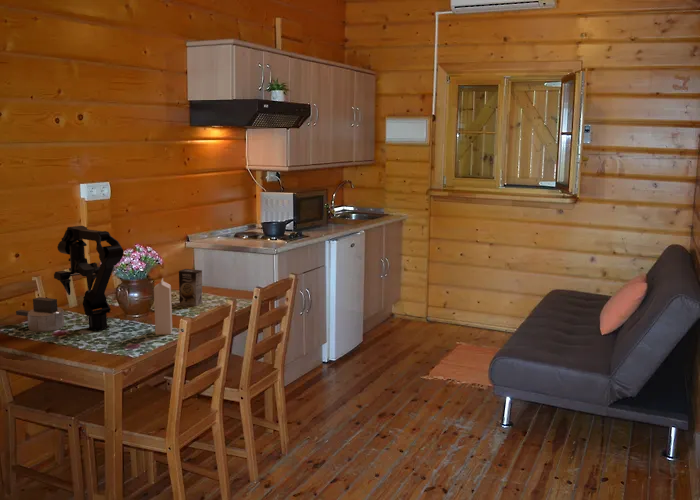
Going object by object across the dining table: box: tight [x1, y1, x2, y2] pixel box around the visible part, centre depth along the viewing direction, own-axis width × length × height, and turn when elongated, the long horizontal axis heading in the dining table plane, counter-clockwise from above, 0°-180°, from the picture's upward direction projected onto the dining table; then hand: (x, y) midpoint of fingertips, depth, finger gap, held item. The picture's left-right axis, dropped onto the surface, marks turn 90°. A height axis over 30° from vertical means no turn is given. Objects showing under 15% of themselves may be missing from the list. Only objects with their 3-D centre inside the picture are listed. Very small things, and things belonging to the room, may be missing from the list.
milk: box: [153, 277, 173, 336], centre depth 270 cm, size 6×6×22 cm
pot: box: [15, 309, 65, 333], centre depth 278 cm, size 21×13×6 cm, turn 71°
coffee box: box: [178, 268, 203, 307], centre depth 317 cm, size 9×6×16 cm
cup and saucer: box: [28, 296, 64, 317], centre depth 276 cm, size 13×13×7 cm
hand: (79, 292), depth 282 cm, fingers open, 9 cm apart
